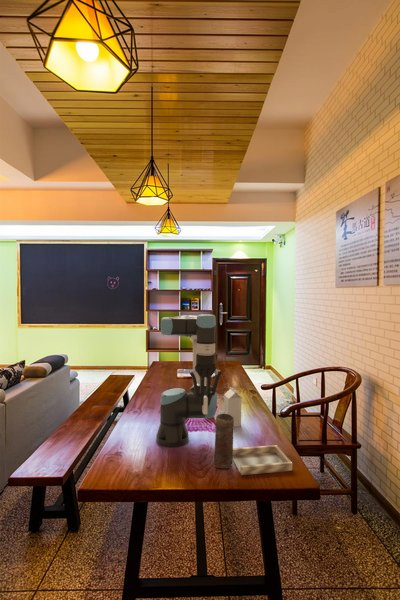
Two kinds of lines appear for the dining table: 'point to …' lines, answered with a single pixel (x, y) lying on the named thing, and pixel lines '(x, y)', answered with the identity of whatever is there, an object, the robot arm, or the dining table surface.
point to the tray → (261, 460)
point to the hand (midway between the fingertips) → (204, 413)
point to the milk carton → (233, 405)
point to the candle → (224, 441)
